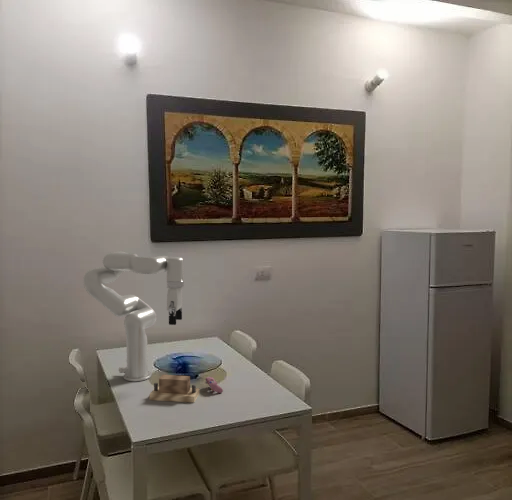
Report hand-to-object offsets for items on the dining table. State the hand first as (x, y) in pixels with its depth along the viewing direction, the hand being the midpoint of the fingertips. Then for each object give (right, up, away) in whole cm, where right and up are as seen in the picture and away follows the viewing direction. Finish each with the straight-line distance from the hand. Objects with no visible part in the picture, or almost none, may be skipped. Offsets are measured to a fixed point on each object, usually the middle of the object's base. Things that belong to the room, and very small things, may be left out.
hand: (175, 322), depth 216 cm
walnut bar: (+2, -27, -14) cm, 31 cm away
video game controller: (+18, -29, -6) cm, 35 cm away
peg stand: (+2, -30, -14) cm, 33 cm away
